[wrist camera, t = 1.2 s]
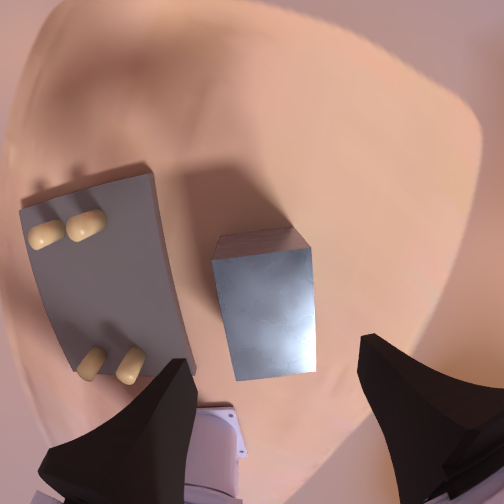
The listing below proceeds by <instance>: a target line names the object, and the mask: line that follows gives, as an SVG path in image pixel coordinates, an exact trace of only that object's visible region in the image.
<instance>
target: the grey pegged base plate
mask: <svg viewBox="0 0 504 504" xmlns="http://www.w3.org/2000/svg"><path fill="white" fill-rule="evenodd" d="M19 215H20V220H21V225H22V230H23V235H24V239H25V244H26V248H27V252H28V256H29V259H30V263H31V267H32V270H33V274H34V277H35V280H36V283H37V286H38V289H39V292H40V295H41V298H42V301H43V304H44V307H45V309H46V312H47V315H48V317H49V320H50V322H51V325H52V327H53V329H54V332H55V334H56V336H57V339H58V341H59V343H60V345H61V348H62V350H63V352H64V354H65V356H66V358H67V360H68V362H69V364H70V366H71V368H72V370H73V371H74V372H77V373H78V375H79V376H80V377H81V378H82V379H84V380H85V381H92V380H93V379H94V377H95V375H96V374H109V375H116V376H117V378H118V379H119V380H120V381H121V382H122V383H124V384H128V385H131V384H133V383H134V382H135V380H136V378H137V376H157V375H158V374H159V373H160V372H161V371H162V370H163V368H164V367H165V366H166V365H167V364H168V363H169V362H170V361H171V359H172V358H186V359H187V362H188V365H189V368H190V371H191V374H192V376H194V375H195V373H196V365H195V361H194V358H193V355H192V351H191V348H190V344H189V341H188V337H187V333H186V330H185V326H184V322H183V318H182V315H181V311H180V307H179V303H178V299H177V294H176V290H175V286H174V282H173V277H172V273H171V268H170V264H169V259H168V254H167V249H166V244H165V239H164V234H163V229H162V223H161V217H160V212H159V206H158V200H157V193H156V187H155V180H154V173H147V174H143V175H138V176H134V177H130V178H125V179H121V180H117V181H113V182H109V183H105V184H101V185H98V186H94V187H90V188H87V189H83V190H80V191H76V192H73V193H70V194H66V195H63V196H60V197H57V198H54V199H50V200H47V201H44V202H41V203H38V204H36V205H33V206H30V207H27V208H24V209H22V210H19Z"/></svg>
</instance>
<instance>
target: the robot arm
mask: <svg viewBox="0 0 504 504" xmlns="http://www.w3.org/2000/svg"><path fill="white" fill-rule="evenodd" d="M357 374H358V377H359V380H360V383H361V386H362V389H363V392H364V394H365V396H366V398H367V400H368V402H369V404H370V406H371V408H372V411H373V413H374V415H375V416H376V419H377V420H378V423H379V425H380V427H381V429H382V432H383V434H384V437H385V440H386V443H387V446H388V449H389V452H390V456H391V460H392V463H393V467H394V471H395V476H396V480H397V485H398V491H399V497H400V504H504V389H502V388H491V387H486V386H480V385H476V384H472V383H468V382H464V381H461V380H458V379H455V378H452V377H449V376H447V375H445V374H442V373H440V372H438V371H435V370H433V369H431V368H429V367H427V366H426V365H424V364H422V363H420V362H418V361H416V360H415V359H413V358H411V357H410V356H408V355H407V354H405V353H403V352H402V351H400V350H399V349H397V348H396V347H394V346H393V345H391V344H390V343H388V342H387V341H385V340H384V339H382V338H381V337H379V336H378V335H376V334H375V333H373V334H368V335H364V336H361V340H360V351H359V360H358V368H357ZM197 396H198V391H197V388H196V386H195V383H194V380H193V377H192V374H191V371H190V368H189V365H188V362H187V359H186V358H172V359H171V361H170V362H169V363H168V364H167V365H166V366H165V367H164V368H163V370H162V371H161V372H160V373H159V374H158V375H157V376H156V377H155V379H154V380H153V381H152V382H151V383H150V384H149V385H148V386H147V387H146V388H145V389H144V390H143V391H142V392H141V393H140V394H139V395H138V396H137V397H136V398H135V399H134V400H133V401H132V402H131V403H130V404H129V405H128V406H126V407H125V408H124V409H123V410H122V411H120V412H119V413H118V414H117V415H115V416H114V417H113V418H111V419H110V420H108V421H107V422H105V423H104V424H102V425H100V426H99V427H97V428H96V429H94V430H92V431H91V432H89V433H87V434H85V435H83V436H81V437H79V438H77V439H74V440H72V441H70V442H67V443H64V444H61V445H59V446H56V447H53V448H49V450H48V452H47V454H46V456H45V458H44V459H43V461H42V463H41V466H40V467H39V469H38V474H39V476H40V477H41V478H42V479H43V480H44V481H45V482H46V483H47V484H48V485H49V486H50V487H52V488H53V489H54V490H55V491H57V492H58V493H59V494H60V495H61V496H63V497H64V498H65V501H64V503H62V502H60V501H58V500H57V499H55V498H53V497H51V496H48V495H46V494H44V493H42V492H40V491H38V490H37V491H36V493H35V495H34V497H33V499H32V502H31V504H243V500H242V499H237V498H238V483H239V458H244V457H247V450H246V447H245V443H244V440H243V436H242V432H241V429H240V425H239V421H238V418H237V414H236V410H235V408H233V407H216V408H197ZM231 414H232V415H231Z"/></svg>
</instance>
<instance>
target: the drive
mask: <svg viewBox="0 0 504 504" xmlns="http://www.w3.org/2000/svg"><path fill="white" fill-rule="evenodd" d="M211 262H212V267H213V272H214V278H215V283H216V288H217V293H218V299H219V304H220V309H221V314H222V319H223V323H224V328H225V333H226V338H227V342H228V347H229V352H230V356H231V361H232V365H233V369H234V374H235V378H236V381H244V380H254V379H263V378H271V377H279V376H286V375H293V374H299V373H305V372H311V371H316V340H315V308H314V286H313V268H312V253H311V247H310V246H309V244H308V243H307V242H306V241H305V239H304V238H303V237H302V236H301V235H300V234H299V232H298V231H297V230H296V229H295V228H294V227H286V228H278V229H270V230H263V231H255V232H247V233H240V234H233V235H225V236H221V237H220V239H219V242H218V244H217V247H216V250H215V252H214V255H213V257H212V260H211Z"/></svg>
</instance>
